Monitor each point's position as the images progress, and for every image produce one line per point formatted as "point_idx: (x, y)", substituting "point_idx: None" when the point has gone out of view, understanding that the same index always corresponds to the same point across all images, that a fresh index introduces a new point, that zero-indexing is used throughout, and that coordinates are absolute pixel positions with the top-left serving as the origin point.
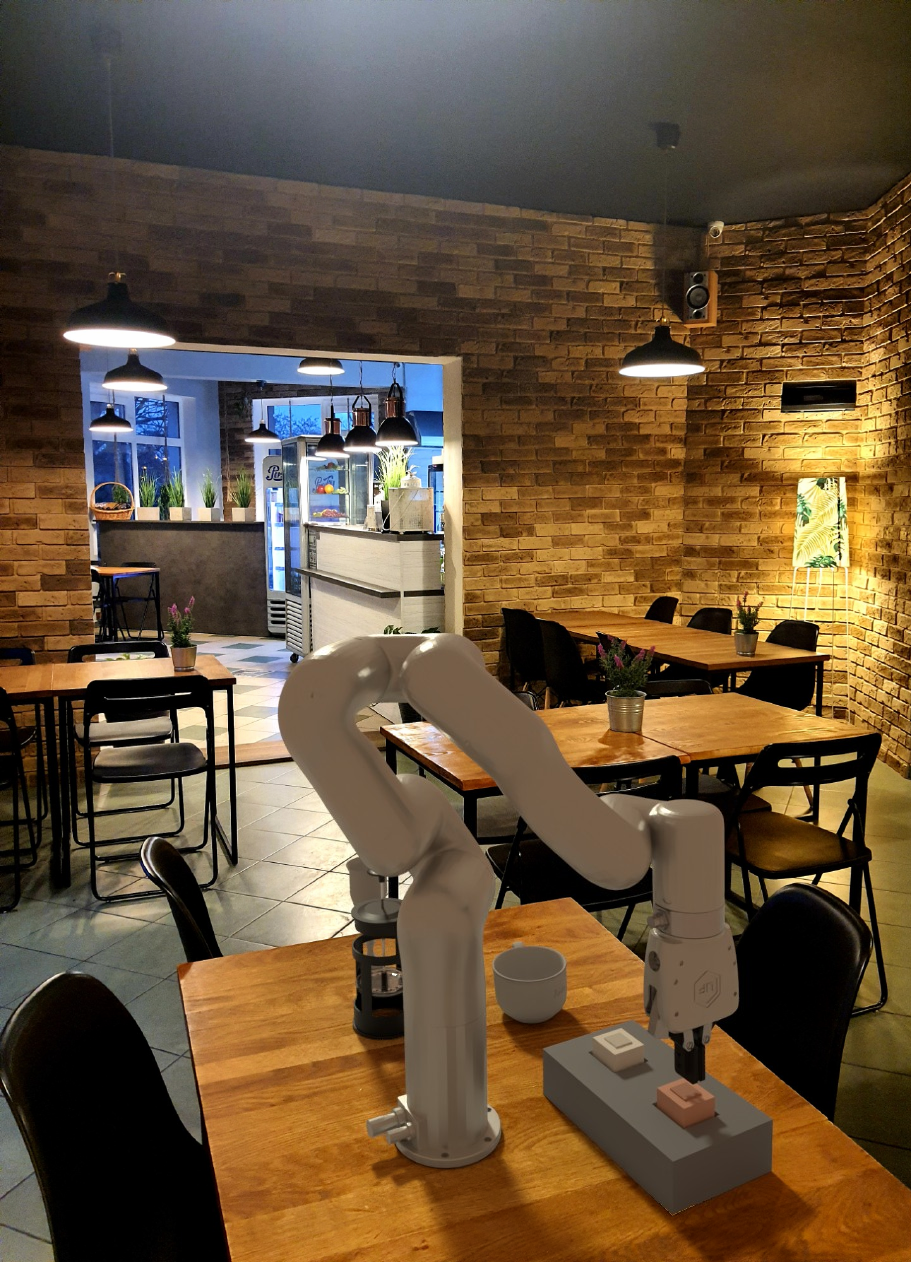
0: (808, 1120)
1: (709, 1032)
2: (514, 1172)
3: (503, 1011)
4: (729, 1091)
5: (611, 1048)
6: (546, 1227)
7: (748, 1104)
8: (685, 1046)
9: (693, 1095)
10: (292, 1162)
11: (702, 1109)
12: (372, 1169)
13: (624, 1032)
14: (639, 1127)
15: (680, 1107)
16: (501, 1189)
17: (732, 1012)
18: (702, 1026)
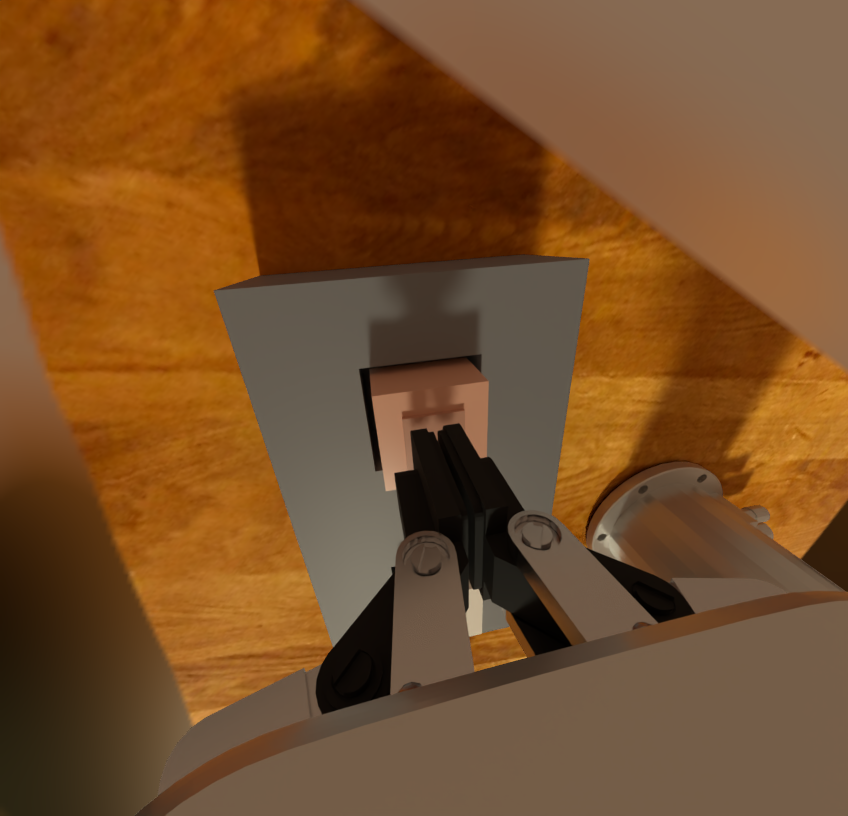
0: (73, 380)
1: (408, 590)
2: (638, 433)
3: None
4: (274, 438)
5: (474, 602)
6: (686, 322)
7: (251, 377)
8: (565, 528)
9: (431, 416)
10: (786, 514)
11: (416, 380)
12: (746, 485)
13: None
14: (557, 397)
15: (487, 392)
16: (673, 411)
17: (210, 795)
18: (467, 634)
